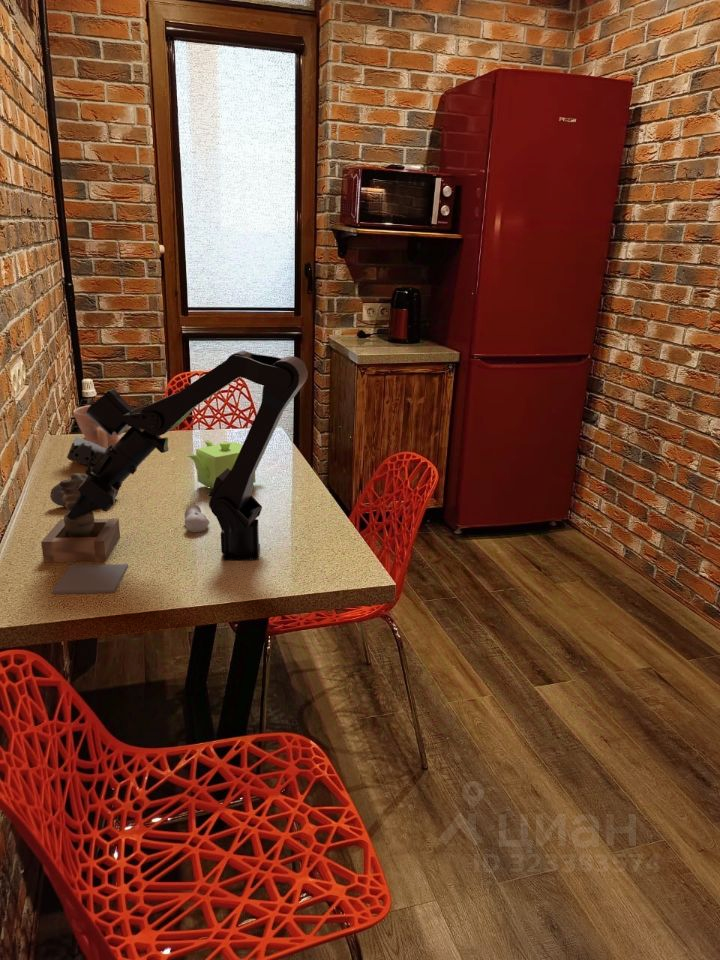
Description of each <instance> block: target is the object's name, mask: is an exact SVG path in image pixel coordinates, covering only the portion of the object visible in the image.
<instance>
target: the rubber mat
mask: <svg viewBox="0 0 720 960" xmlns="http://www.w3.org/2000/svg"><path fill="white" fill-rule="evenodd" d="M128 567H129V564H128V563H121V564H120V563H113V564H112V563H110V564H109V563H108V564H105V563H104V564H70V565H69V566H68V568H67V570H66V571H65V573H63V575H62V576H61V578H60V579H59V581H58V582H57V584H56V585H55V586H54V588H53V589H52V590H51V593H52V595H54V594H55V595H57V594H58V595H63V594H64V595H65V594H68V595H69V594H102V593H104V594H107V593H108V594H109V593H111V594H113V593H116V590H117V588H118V587H119V585H120V583H121V581H122V579H123V578H124V576H125V574H126V572H127V570H128Z"/></svg>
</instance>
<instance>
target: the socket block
mask: <svg viewBox="0 0 720 960" xmlns="http://www.w3.org/2000/svg"><path fill="white" fill-rule="evenodd" d="M119 519H120V518H94V528H93V530H92V531H91V533H90V534H89V537H77V538H72V536H71V535H70V534H69V533H68V532H67V531H66V529H65V523H64V518H62V519H59V520H58V522H57V523H56V524H55V525H54V526H53V527H52V528H51V530H50V531H49V532H48V533H47V534H46V536H44V538H43V539H42V540H41V541H40V544H41V550H42V551H41V552H42V558H43V563H63V562H64V563H66V562H67V563H72V562H73V563H74V562H77V563H78V562H81V563H82V562H107V560H108V558H109V557H110V555H111V553H112V552H113V550H114V548H115V547H116V545H117V544H118V542H119V540H120V539H121V532H120V530H121V529H120V521H119Z"/></svg>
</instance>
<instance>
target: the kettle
mask: <svg viewBox="0 0 720 960" xmlns="http://www.w3.org/2000/svg"><path fill="white" fill-rule="evenodd" d="M204 443H205V445H206V446H204V447H198V448H196V449H195V453H191V454H185V456H186V457H188V458H190V459H191V460H192V461H193V463H194V465H195V469H196V474H197V475H196V476H197V477H196V478H197V482H198V483H199V484H202V485H204V486H205V487H206V486H207V487H210V488H209V489H211V490H213V487H214V483H215V480H216V477H218V476H219V475H220V474H221V473H222V472H223V471H224V470H226V469H227V468H228V469H229V470H232V468H233V466H234V463H235V461H236V459H237V457H238V455H239V452H240V450H241V448H242V446H243V444H241V443H238V442H236V441H232V442H231V441H230V442H229V441H221V442H219V444H215V445H214V444H213V443H212V441H211V440H209V439H204ZM255 483H256V473H255V474H254V481H253V484H255ZM207 487H206V488H207Z"/></svg>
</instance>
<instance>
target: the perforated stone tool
mask: <svg viewBox="0 0 720 960" xmlns="http://www.w3.org/2000/svg"><path fill="white" fill-rule="evenodd" d="M69 479H70V478H68V479H67V480H69ZM61 489H62V487H61V486H60V482H59V483H56V485H54V486H53V487H52V489H50V492H49V493H50V495H49V496H50V501H52V502H53V503H54V504H56V505H57V506H60V507H66V506H65V505H66V502H65V501H63V499H62V498H63V496H64V494H62V493H61ZM112 489H113V490H114V491H115V497H117V495H118V494H119V491H120V489H121V487H120V488H119V489H118V490H116V489H115V488H114V487H113V488H112Z"/></svg>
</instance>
